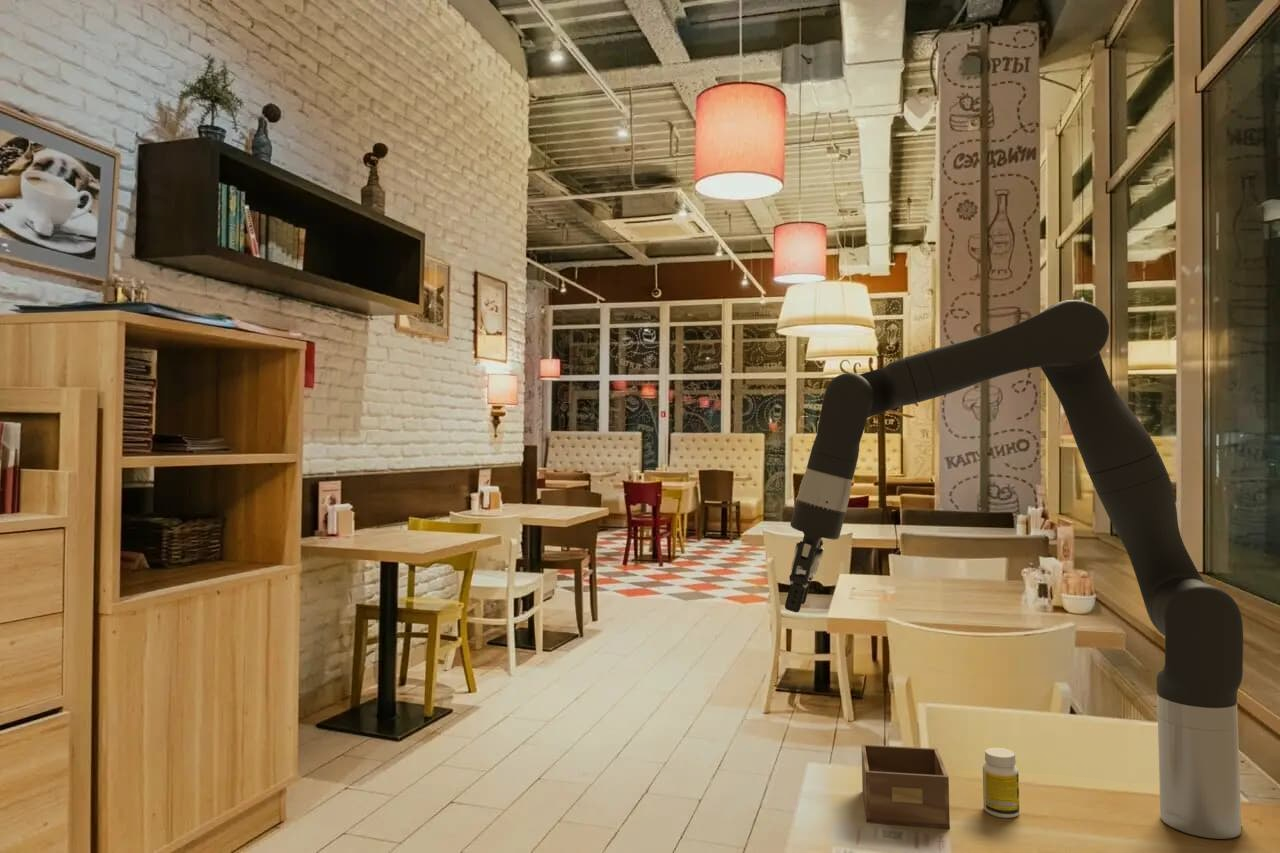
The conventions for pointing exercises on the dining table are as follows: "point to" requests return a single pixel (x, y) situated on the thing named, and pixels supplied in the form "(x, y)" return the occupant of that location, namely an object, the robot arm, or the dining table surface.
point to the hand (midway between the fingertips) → (794, 606)
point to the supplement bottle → (1000, 783)
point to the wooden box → (905, 786)
